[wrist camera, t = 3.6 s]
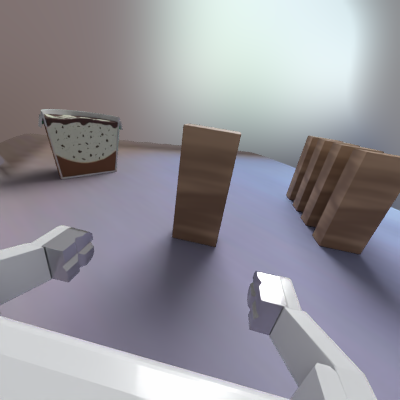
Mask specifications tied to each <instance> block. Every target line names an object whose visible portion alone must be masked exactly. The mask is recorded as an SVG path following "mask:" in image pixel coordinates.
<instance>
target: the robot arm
mask: <svg viewBox="0 0 400 400" xmlns="http://www.w3.org/2000/svg"><path fill="white" fill-rule="evenodd" d="M92 240H93V236H92V233H90V232H87V231H84V230H80V229H76V228H71V227H67V226H64V225H62V226H58V227H56V228H55V229H53V230H51V231H50V232H48V233H47V234H45V235H43V236H42V237H40V238H39V239H37V240H35V241H34V242H32V243H31V244H28V243H26V244H22V245H18V246H14V247H11V248H7V249H3V250H0V305H2V304H4V303H6V302H8V301H10V300H12V299H14V298H16V297H18V296H20V295H22V294H24V293H25V292H27V291H29V290H31V289H33V288H35V287H37V286H39V285H41V284H43V283H45V282H47V281H49V280H51V278H52V279H56V280H61V281H65V282H70V281H71V280H72V279H73V278H74V277H75V276H76V275H77V274H78V273H79V272H80V267H82V266H85V265H87V264H88V263H89V261H90V260H91V258H92V257H93V254H94V246H93V245H92V243H91V241H92ZM247 302H248V306H249V308H250V311H249V314H248V317H249V330H253V331H256V332H259V333H263V334H266V335H270V336H269V337H270V338H271V340H272V342H273V344H274V345H275V347H276V349H277V351H278V352H279V354H280V356H281V357H282V359H283V361H284V363H285V364H286V366H287V368H288V370H289V371H290V373H291V375H292V377H293V378H294V380H295V382H296V383H297V385H298V387H299V388H298V389H297V390H296V392H295V393H294V394H293V396H292V397H291V398H290V399H287V398H283V397H280V396H276V395H273V394H269V393H266V392H262V391H259V390H256V389H252V388H249V387H245V386H242V385H238V384H235V383H231V382H228V381H224V380H221V379H217V378H214V377H210V376H207V375H203V374H200V373H197V372H193V371H190V370H186V369H183V368H179V367H176V366H172V365H169V364H165V363H162V362H158V361H155V360H151V359H148V358H145V357H141V356H138V355H134V354H131V353H127V352H124V351H120V350H117V349H113V348H110V347H106V346H103V345H99V344H96V343H92V342H89V341H85V340H82V339H78V338H75V337H71V336H68V335H64V334H61V333H57V332H54V331H51V330H47V329H44V328H40V327H37V326H33V325H30V324H26V323H23V322H19V321H16V320H12V319H9V318H5V317H2V316H1V312H0V400H377V398H376V396H375V394H374V392H373V390H372V388H371V386H370V384H369V382H368V380H367V378H366V376H365V374H364V373H363V372H362V371H361V370H360V369H359V368H358V367H357V366H356V365H355V364H354V363H353V362H352V361H351V360H350V359H349V358H348V356H347V355H346V354H345V353H344V352H343V351H342V350H341V349H340V348H339V347H338V346H337V345H336V344H335V343H334V342H333V341H332V340H331V338H330V337H329V336H328V335H327V334H326V333H325V332H324V331H323V330H322V329H321V328H320V327H319V326H318V325H317V324H316V323H315V321H314V320H313V319H312V318H311V317H310V316H309V315H308V314H307V313H306V312H304V311H302V310H301V307H300V304H299V301H298V299H297V296H296V293H295V290H294V287H293V284H292V281H291V280H290V278H286V277H281V276H276V275H272V274H267V273H263V272H258V271H255V273H254V275H253V283H251V284H250V286H249V290H248V297H247Z"/></svg>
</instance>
